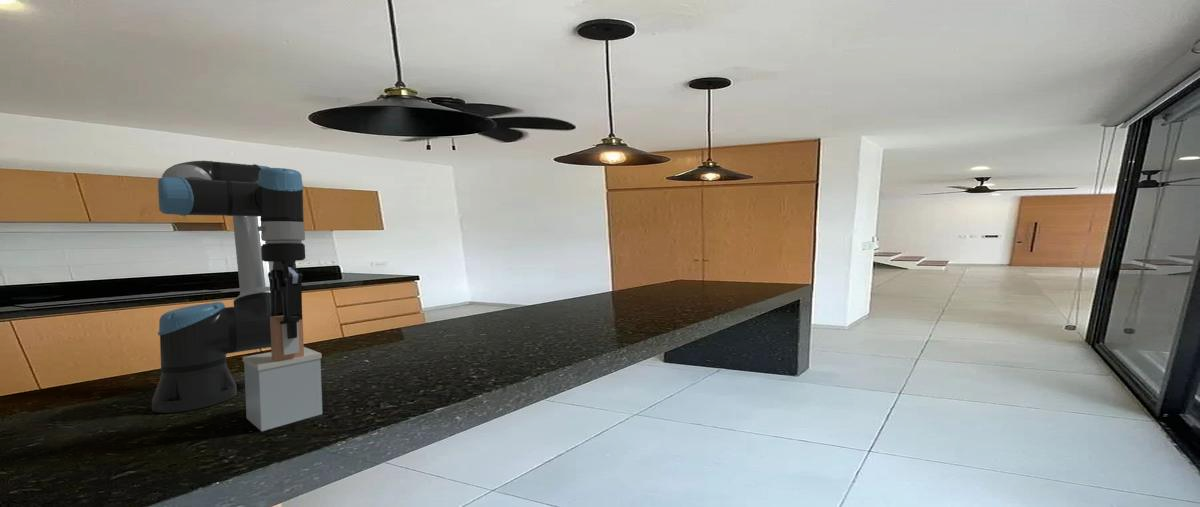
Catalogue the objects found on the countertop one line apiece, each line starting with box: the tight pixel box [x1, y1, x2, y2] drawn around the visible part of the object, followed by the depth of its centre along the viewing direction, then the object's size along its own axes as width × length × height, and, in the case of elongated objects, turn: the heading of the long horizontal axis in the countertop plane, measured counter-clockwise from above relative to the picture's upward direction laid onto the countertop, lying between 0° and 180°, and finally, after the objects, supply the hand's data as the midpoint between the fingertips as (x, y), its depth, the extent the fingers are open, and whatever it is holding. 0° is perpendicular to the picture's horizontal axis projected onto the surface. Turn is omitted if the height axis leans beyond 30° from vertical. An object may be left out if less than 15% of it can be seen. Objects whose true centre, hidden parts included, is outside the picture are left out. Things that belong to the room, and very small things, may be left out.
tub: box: [243, 358, 323, 432], centre depth 96 cm, size 11×11×12 cm
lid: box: [242, 315, 323, 371], centre depth 95 cm, size 11×11×10 cm
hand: (287, 351), depth 93 cm, fingers open, 4 cm apart
